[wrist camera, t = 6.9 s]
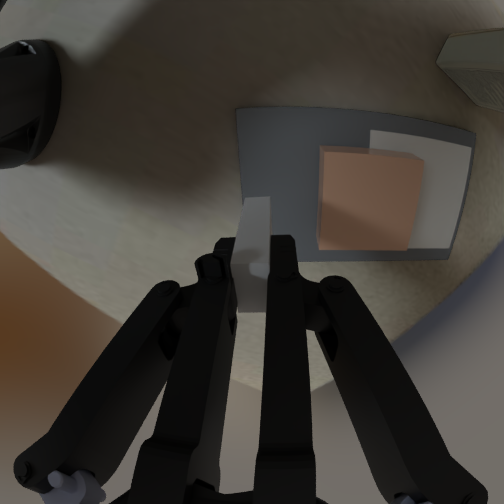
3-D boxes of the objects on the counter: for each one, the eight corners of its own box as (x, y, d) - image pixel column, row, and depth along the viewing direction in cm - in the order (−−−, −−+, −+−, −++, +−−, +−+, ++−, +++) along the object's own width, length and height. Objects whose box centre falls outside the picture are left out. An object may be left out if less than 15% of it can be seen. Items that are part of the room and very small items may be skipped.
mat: (247, 258, 27) (247, 262, 26) (236, 108, 19) (235, 109, 18) (445, 256, 24) (448, 259, 24) (472, 132, 17) (476, 133, 16)
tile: (318, 249, 22) (406, 250, 21) (324, 151, 17) (424, 160, 16) (315, 233, 24) (396, 235, 23) (319, 144, 20) (410, 152, 19)
